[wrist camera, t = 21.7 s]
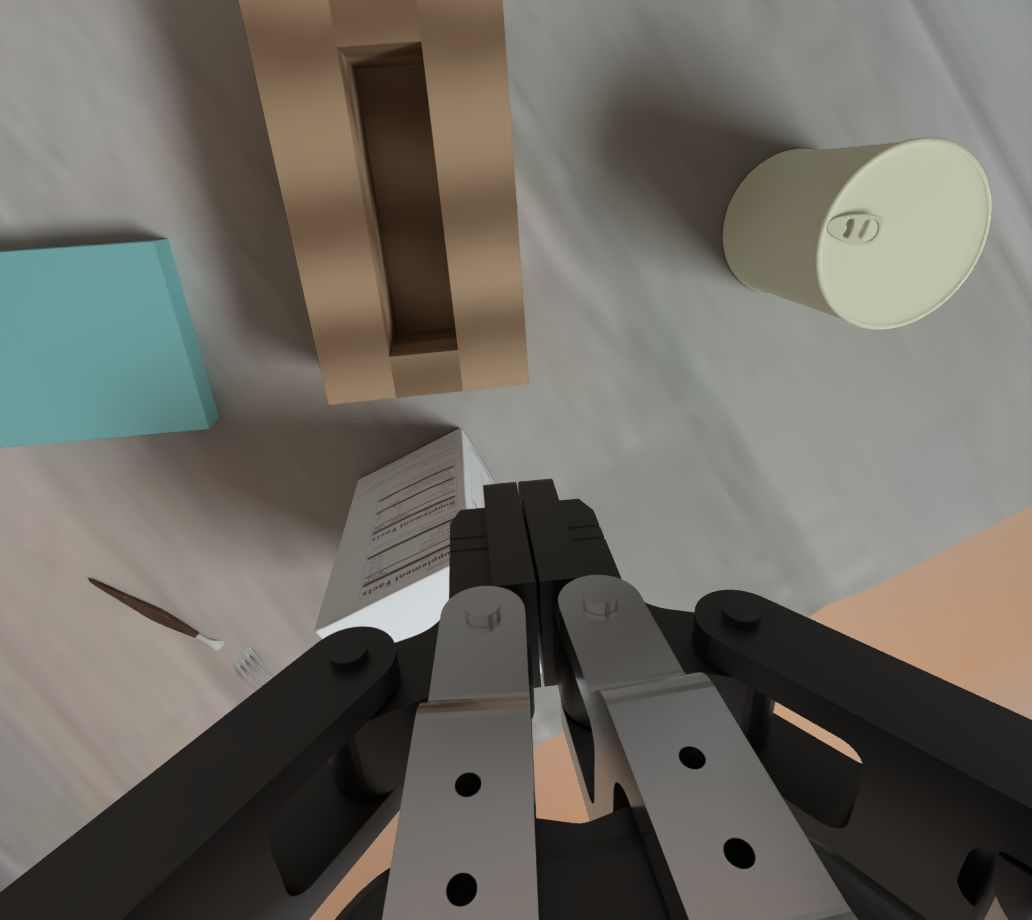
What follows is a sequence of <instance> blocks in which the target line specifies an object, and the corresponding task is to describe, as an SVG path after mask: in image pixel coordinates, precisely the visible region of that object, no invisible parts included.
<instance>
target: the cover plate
mask: <svg viewBox="0 0 1032 920" xmlns="http://www.w3.org/2000/svg"><path fill="white" fill-rule="evenodd" d="M219 419H220V417H219V414H218V410H217V407H216V403H215V400H214V396H213V393H212V389H211V386H210V383H209V379H208V376H207V372H206V369H205V365H204V362H203V358H202V355H201V352H200V348H199V345H198V341H197V338H196V334H195V331H194V327H193V324H192V321H191V317H190V314H189V310H188V307H187V303H186V300H185V296H184V293H183V290H182V286H181V283H180V279H179V276H178V272H177V269H176V265H175V262H174V258H173V255H172V252H171V248H170V245H169V241H168V239H160V240H145V241H131V242H117V243H103V244H89V245H75V246H60V247H46V248H32V249H18V250H4V251H0V448H2V447H13V446H24V445H35V444H47V443H58V442H69V441H80V440H92V439H103V438H114V437H125V436H137V435H148V434H159V433H170V432H182V431H193V430H204V429H210V428H211V427H212V426H213V425H214V424H215V423H216V422H217V421H218V420H219Z"/></svg>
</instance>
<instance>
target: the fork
mask: <svg viewBox="0 0 1032 920" xmlns="http://www.w3.org/2000/svg"><path fill="white" fill-rule="evenodd" d="M89 581H90V582H91V583H92V584H94V585H95V586H97V587H98V588H100V589H101V590H103V591H104V592H106V593H108V594H109V595H111V596H113V597H114V598H116V599H118V600H119V601H121V602H123V603H124V604H126V605H128V606H129V607H131V608H133V609H134V610H136V611H137V612H139V613H141V614H142V615H144V616H146V617H147V618H149V619H151V620H153V621H155V622H157V623H159V624H162V625H164V626H166V627H169V628H171V629H174V630H176V631H179V632H182V633H184V634H187V635H189V636H192V637H194V638H197V639H199V640H201V641H204V642H205V643H207V644H209V645H210V646H211V647H213V648H214V649H215V650H216V651H218V650H219V649H220V648H221V647H222V646H223V645H224V643H225V641H222V640H214V639H210V638H207V637H205V636H204V635H202V634H200V633H199V632H197V631H196V630H194V629H193V628H191V627H190V626H188V625H187V624H185V623H184V622H182V621H181V620H179V619H178V618H176V617H174V616H173V615H171V614H169V613H168V612H166V611H164V610H162V609H160V608H158V607H156V606H154V605H152V604H149V603H147V602H145V601H142V600H140V599H137V598H135V597H133V596H130V595H128V594H126V593H124V592H121V591H119V590H117V589H115V588H113V587H110V586H108V585H106V584H104V583H101V582H99V581H96V580H93V579H89ZM249 655H251V656H252V657H253V658H254V659H255V660H256V661H257V662H258V663H259V665H260V666H261V667H262V668H263V669H264V671H265V672H266V673H267V674H268V676H269V677H270V678H272V676H271V675H270V673H269V672H268V670H267V669H266V667H265V666H264V665H263V663H262V662H261V660H260V659H259V658H258V657H257V655H256V654H255V653H254V652H253V650H252V649H251V648H250V647H245V648H244V649H243V650H242V652H241V653H240V654H239V655H238V656H237V657H236V658H235V659H234V660H233V661H232V662H231V665H232V666H233V667H234V668H235V669H236V670H237V671H238V672H239V673H240V674H241V675H242V676H243V677H244V678H245V680H246V681H247V682H248V683H249V684H250V686H251V687H252V688H253V690H254V691H255V692H256V691H257V690H256V688H255V687H254V685H253V684H252V683H251V681H250V680H249V678H248V677H247V675H246V674H245V673H244V671H243V670H242V669H241V667H240V665H242V666H243V667H244V668H245V669H246V670H247V671H248V673H249V674H250V675H251V676H252V677H253V679H254V680H255V681H256V682H257V684H258V685H259V686H260V688H261V687H262V686H261V684H260V682H259V681H258V680H257V678H256V677H255V675H254V674H253V672H252V671H251V670H250V668H249V667H248V666H247V664H246V663H245V661H244V660H246V661H248V662H249V663H250V665H251V666H252V667H253V668H254V669H255V670H256V672H257V673H258V674H259V675H260V677H261V678H262V679H263V680H264V682H265V683H267V681H266V679H265V678H264V676H263V675H262V674H261V672H260V671H259V669H258V668H257V666H256V665H255V664H254V662H253V661H252V660H251V658H250V657H249Z"/></svg>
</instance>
